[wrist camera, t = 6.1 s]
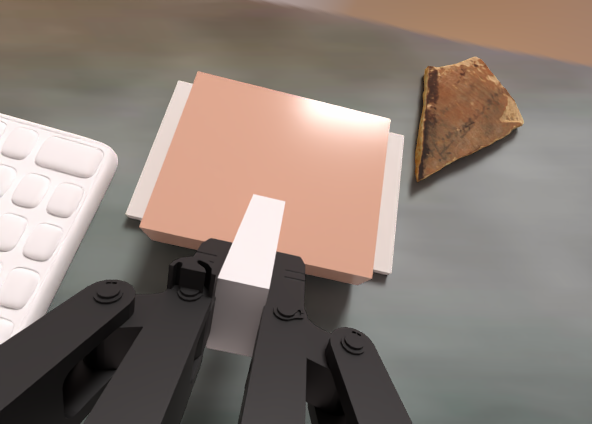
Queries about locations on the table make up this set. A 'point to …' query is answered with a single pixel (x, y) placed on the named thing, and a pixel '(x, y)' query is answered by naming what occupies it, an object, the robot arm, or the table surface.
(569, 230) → the table surface
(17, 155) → the calculator
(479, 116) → the shard
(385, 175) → the white rectangular slab
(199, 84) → the terracotta tile
